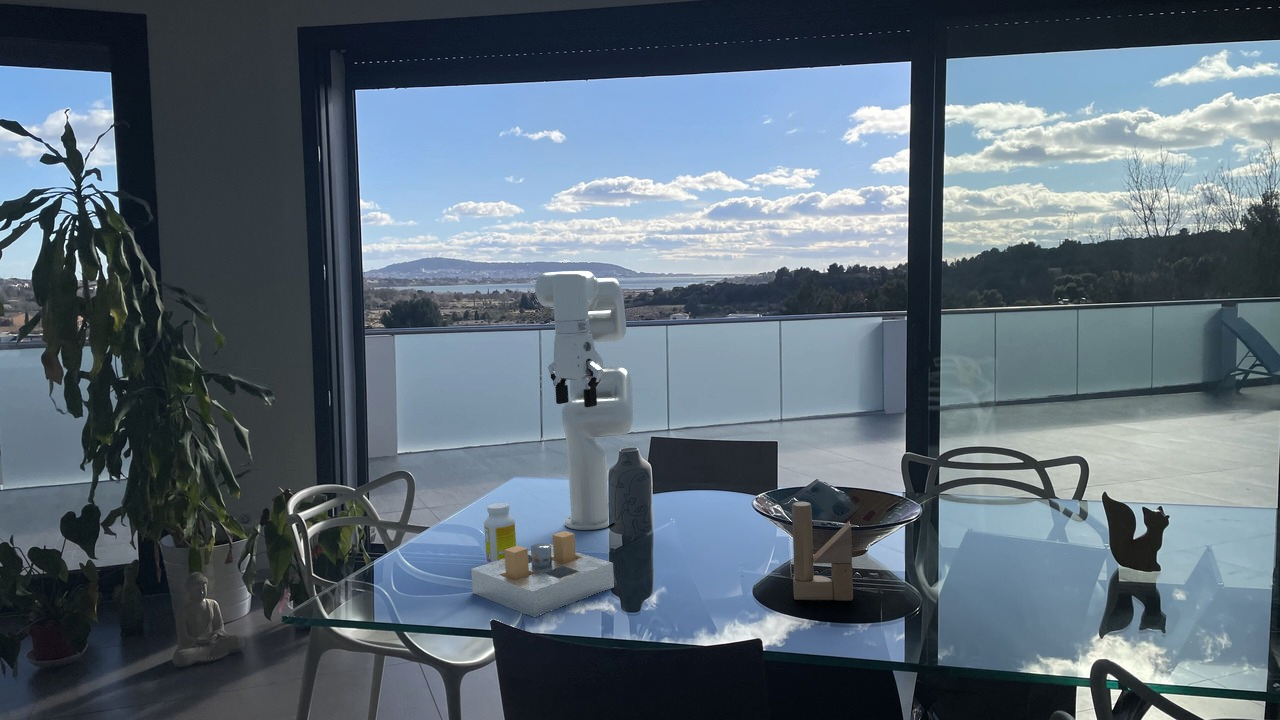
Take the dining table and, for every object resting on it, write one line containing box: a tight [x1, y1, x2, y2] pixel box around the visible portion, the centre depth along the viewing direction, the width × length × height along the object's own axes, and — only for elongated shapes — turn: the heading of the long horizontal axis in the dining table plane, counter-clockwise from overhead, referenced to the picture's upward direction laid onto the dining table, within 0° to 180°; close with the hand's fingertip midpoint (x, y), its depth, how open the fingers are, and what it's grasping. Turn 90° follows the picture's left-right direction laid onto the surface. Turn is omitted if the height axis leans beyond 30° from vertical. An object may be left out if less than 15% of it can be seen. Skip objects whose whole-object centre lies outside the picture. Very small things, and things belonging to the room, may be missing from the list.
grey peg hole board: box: [470, 542, 615, 618], centre depth 178 cm, size 20×20×9 cm
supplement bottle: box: [483, 502, 517, 564], centre depth 196 cm, size 7×7×13 cm
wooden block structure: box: [791, 501, 854, 602], centre depth 167 cm, size 4×11×18 cm, turn 82°
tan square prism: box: [551, 530, 577, 564], centre depth 182 cm, size 3×3×10 cm
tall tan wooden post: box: [504, 545, 529, 581], centre depth 174 cm, size 3×3×10 cm
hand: (576, 404), depth 200 cm, fingers open, 9 cm apart
